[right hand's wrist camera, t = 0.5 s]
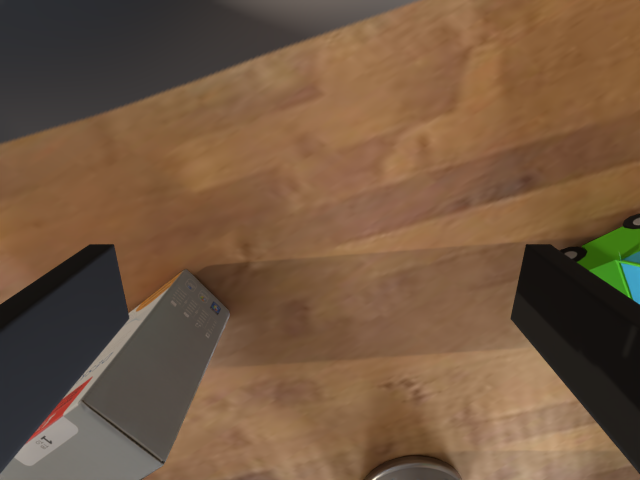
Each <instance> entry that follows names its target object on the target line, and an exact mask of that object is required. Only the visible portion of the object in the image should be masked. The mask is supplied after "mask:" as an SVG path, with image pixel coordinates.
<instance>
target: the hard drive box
mask: <svg viewBox="0 0 640 480" xmlns="http://www.w3.org/2000/svg"><path fill="white" fill-rule="evenodd" d="M128 314H129V320H128V321H127V322H126V323H125V325H124V326H123V327H122V328H121V329H120V331H119V332H118V333H117V334H116V335H115V337H114V338H113V339H112V340H111V341H110V343H109V344H108V345H107V346H106V347H105V349H104V350H103V351H102V352H101V353H100V355H99V356H98V357H97V358H96V359H95V361H94V362H93V363H92V364H91V365H90V367H89V368H88V369H87V370H86V371H85V373H84V374H83V375H82V376H81V377H80V379H79V380H78V381H77V382H76V383H75V385H74V386H73V387H72V388H71V389H70V391H69V392H68V393H67V394H66V395H65V397H64V398H63V399H62V400H61V402H60V403H59V404H58V405H57V406H56V408H55V409H54V410H53V411H52V412H51V414H50V415H49V416H48V417H47V418H46V420H45V421H44V422H43V423H42V424H41V426H40V427H39V428H38V429H37V430H36V432H35V433H34V434H33V435H32V436H31V438H30V439H29V440H28V441H27V442H26V444H25V445H24V446H23V447H22V448H21V450H20V451H19V452H18V453H17V454H16V456H15V457H14V458H13V459H12V460H11V462H10V463H9V464H8V465H7V466H6V468H5V469H4V470H3V471H2V472H1V474H0V480H142V479H143V478H145V477H146V476H148V475H149V474H151V473H153V472H154V471H156V470H157V469H159V468H160V467H162V466H163V465H164V463H165V461H166V459H167V457H168V455H169V453H170V450H171V448H172V446H173V444H174V441H175V440H176V437H177V435H178V432H179V430H180V428H181V425H182V423H183V421H184V418H185V416H186V414H187V412H188V409H189V407H190V405H191V402H192V400H193V398H194V396H195V393H196V391H197V389H198V387H199V384H200V382H201V380H202V378H203V375H204V373H205V371H206V368H207V366H208V364H209V362H210V359H211V357H212V355H213V353H214V350H215V348H216V346H217V344H218V341H219V339H220V337H221V334H222V332H223V330H224V328H225V325H226V323H227V321H228V318H229V316H230V313H229V310H228V309H227V308H226V307H225V306H224V305H223V304H222V303H221V302H220V301H219V300H218V299H217V298H216V297H215V296H214V295H213V294H212V293H211V292H210V291H209V290H207V289H206V288H205V287H204V286H203V285H202V284H201V283H200V282H199V281H198V280H197V279H196V278H195V277H194V276H193V275H192V274H191V273H190V272H189V271H188V270H187V269H185V270H183V271H182V272H181V273H179V274H178V275H177V276H175V277H174V278H173V279H172V280H170V281H169V282H168V283H166V284H165V285H164V286H163V287H161V288H160V289H159V290H158V291H156V292H155V293H154V294H153V295H151V296H150V297H149V298H147V299H146V300H145V301H144V302H142V303H141V304H140V305H139V306H137V307H136V308H135V309H133V310H132V311H131V312H130V313H128Z"/></svg>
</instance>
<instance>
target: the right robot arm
mask: <svg viewBox="0 0 640 480" xmlns="http://www.w3.org/2000/svg"><path fill="white" fill-rule="evenodd" d="M128 320H129V314H128V309H127V305H126V300H125V295H124V290H123V286H122V281H121V276H120V271H119V267H118V262H117V257H116V252H115V248H114V244H90V245H88V246H87V247H85V248H84V249H82V250H81V251H79V252H78V253H76V254H75V255H73V256H72V257H70V258H69V259H67V260H66V261H64V262H63V263H61V264H60V265H58V266H57V267H56V268H54V269H53V270H51V271H50V272H48V273H47V274H45V275H44V276H42V277H41V278H39V279H38V280H36V281H35V282H33V283H32V284H30V285H29V286H27V287H26V288H24V289H23V290H21V291H20V292H18V293H17V294H15V295H14V296H12V297H11V298H9V299H8V300H6V301H5V302H3V303H2V304H0V474H1V472H2V471H3V470H4V469H5V468H6V466H7V465H8V464H9V463H10V462H11V460H12V459H13V458H14V457H15V456H16V454H17V453H18V452H19V451H20V450H21V448H22V447H23V446H24V445H25V444H26V442H27V441H28V440H29V439H30V438H31V436H32V435H33V434H34V433H35V432H36V430H37V429H38V428H39V427H40V426H41V424H42V423H43V422H44V421H45V420H46V418H47V417H48V416H49V415H50V414H51V412H52V411H53V410H54V409H55V408H56V406H57V405H58V404H59V403H60V402H61V400H62V399H63V398H64V397H65V395H66V394H67V393H68V392H69V391H70V389H71V388H72V387H73V386H74V385H75V383H76V382H77V381H78V380H79V379H80V377H81V376H82V375H83V374H84V373H85V371H86V370H87V369H88V368H89V367H90V365H91V364H92V363H93V362H94V361H95V359H96V358H97V357H98V356H99V355H100V353H101V352H102V351H103V350H104V349H105V347H106V346H107V345H108V344H109V343H110V341H111V340H112V339H113V338H114V337H115V335H116V334H117V333H118V332H119V331H120V329H121V328H122V327H123V326H124V325H125V323H126V322H127V321H128ZM511 320H512V321H513V322H514V323H515V325H516V326H517V327H518V328H519V329H520V331H521V332H522V333H523V334H524V335H525V337H526V338H527V339H528V340H529V341H530V343H531V344H532V345H533V346H534V347H535V349H536V350H537V351H538V352H539V353H540V355H541V356H542V357H543V358H544V359H545V361H546V362H547V363H548V364H549V365H550V367H551V368H552V369H553V370H554V371H555V373H556V374H557V375H558V376H559V377H560V379H561V380H562V381H563V382H564V383H565V385H566V386H567V387H568V388H569V389H570V391H571V392H572V393H573V394H574V395H575V397H576V398H577V399H578V400H579V402H580V403H581V404H582V405H583V406H584V408H585V409H586V410H587V411H588V412H589V414H590V415H591V416H592V417H593V418H594V420H595V421H596V422H597V423H598V424H599V426H600V427H601V428H602V429H603V430H604V432H605V433H606V434H607V435H608V436H609V438H610V439H611V440H612V441H613V442H614V444H615V445H616V446H617V447H618V448H619V450H620V451H621V452H622V453H623V454H624V456H625V457H626V458H627V459H628V460H629V462H630V463H631V464H632V465H633V466H634V468H635V469H636V470H637V471H638V472H639V474H640V304H638V303H637V302H635V301H634V300H632V299H631V298H629V297H628V296H626V295H625V294H623V293H622V292H620V291H619V290H617V289H616V288H614V287H613V286H611V285H610V284H608V283H607V282H605V281H604V280H602V279H601V278H599V277H598V276H596V275H595V274H593V273H592V272H590V271H589V270H587V269H586V268H584V267H583V266H582V265H580V264H579V263H577V262H576V261H574V260H573V259H571V258H570V257H568V256H567V255H565V254H564V253H562V252H561V251H559V250H558V249H556V248H555V247H553V246H552V245H550V244H526V248H525V252H524V257H523V262H522V267H521V271H520V276H519V281H518V286H517V290H516V295H515V300H514V305H513V309H512V314H511ZM364 480H462V479H461V477H460V475H459V474H458V472H457V471H456V470H455V469H454V468H453V467H451V466H450V465H448V464H447V463H445V462H443V461H441V460H438V459H434V458H430V457H424V456H408V457H401V458H397V459H393V460H390V461H388V462H385V463H383V464H381V465H380V466H378V467H376V468H375V469H374V470H372V471H371V472H370V473H369V474H368V475H367V476H366V478H365V479H364Z"/></svg>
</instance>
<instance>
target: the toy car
mask: <svg viewBox="0 0 640 480" xmlns="http://www.w3.org/2000/svg"><path fill="white" fill-rule="evenodd" d="M561 252H562V253H564V254H565V255H567V256H568V257H570V258H571V259H573V260H574V261H576V262H577V263H579V264H580V265H582V266H583V267H584V268H586V269H587V270H589V271H590V272H592V273H593V274H595V275H596V276H598V277H599V278H601V279H602V280H604V281H605V282H607V283H608V284H610V285H611V286H613V287H614V288H616V289H617V290H619V291H620V292H622V293H623V294H625V295H626V296H628V297H629V298H631V299H632V300H634V301H635V302H637V303H638V304H640V214H637V215H634V216H631V217H629V218H628V219H626V220H625V221H624V223H623V226H622V227H620V228H618V229H616V230H614V231H612V232H610V233H608V234H606V235H604V236H602V237H599V238H597V239H595V240H593V241H591V242H589V243H587V244H585V245H583V246H582V248H580V247H569V248H566V249H563V250H561Z"/></svg>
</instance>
